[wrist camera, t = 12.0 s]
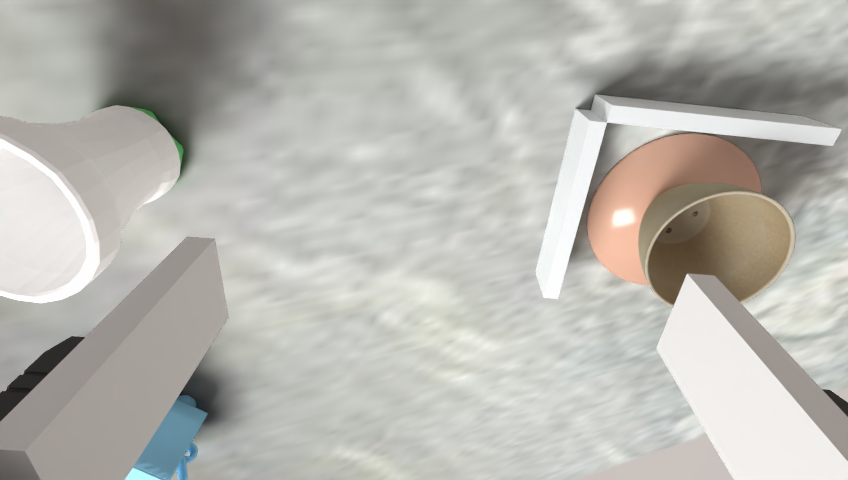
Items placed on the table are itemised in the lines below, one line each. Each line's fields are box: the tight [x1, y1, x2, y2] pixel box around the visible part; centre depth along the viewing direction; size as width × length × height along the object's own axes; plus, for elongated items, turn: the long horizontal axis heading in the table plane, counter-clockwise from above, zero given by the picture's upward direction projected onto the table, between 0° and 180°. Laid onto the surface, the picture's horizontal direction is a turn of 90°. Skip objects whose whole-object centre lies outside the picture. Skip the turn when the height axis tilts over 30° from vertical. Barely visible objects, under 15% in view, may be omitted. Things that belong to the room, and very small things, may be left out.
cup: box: [0, 105, 184, 303], centre depth 32 cm, size 11×11×14 cm
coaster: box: [587, 133, 762, 285], centre depth 39 cm, size 14×14×1 cm
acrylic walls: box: [535, 94, 842, 299], centre depth 37 cm, size 16×17×4 cm
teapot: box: [125, 395, 208, 480], centre depth 48 cm, size 16×18×11 cm
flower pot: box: [638, 182, 796, 307], centre depth 36 cm, size 10×10×7 cm
